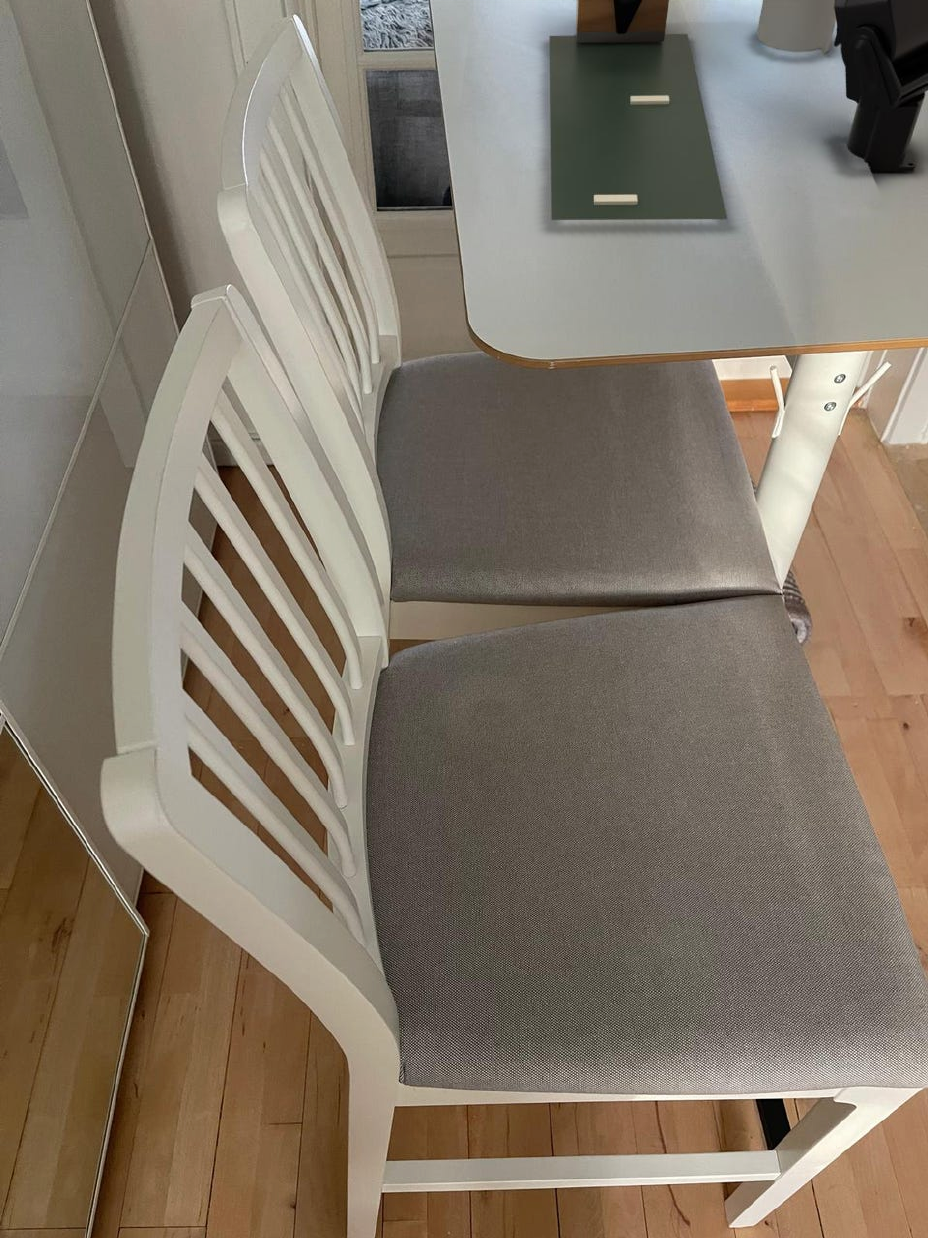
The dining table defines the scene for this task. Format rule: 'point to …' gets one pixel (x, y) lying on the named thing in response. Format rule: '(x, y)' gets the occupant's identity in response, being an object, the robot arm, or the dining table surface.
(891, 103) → the robot arm
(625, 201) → the white rectangular bar
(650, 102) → the chalk mark
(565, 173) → the chalkboard
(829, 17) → the cup
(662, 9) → the eraser
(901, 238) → the dining table surface
